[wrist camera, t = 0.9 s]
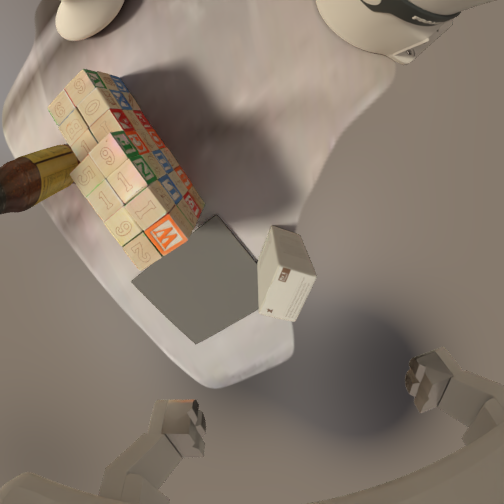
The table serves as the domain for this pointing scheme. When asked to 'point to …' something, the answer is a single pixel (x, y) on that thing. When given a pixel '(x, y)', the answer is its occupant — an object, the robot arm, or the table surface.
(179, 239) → the stack of blocks
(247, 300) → the placemat
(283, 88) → the table surface
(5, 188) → the sauce bottle
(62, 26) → the flower in vase
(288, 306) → the skincare box
